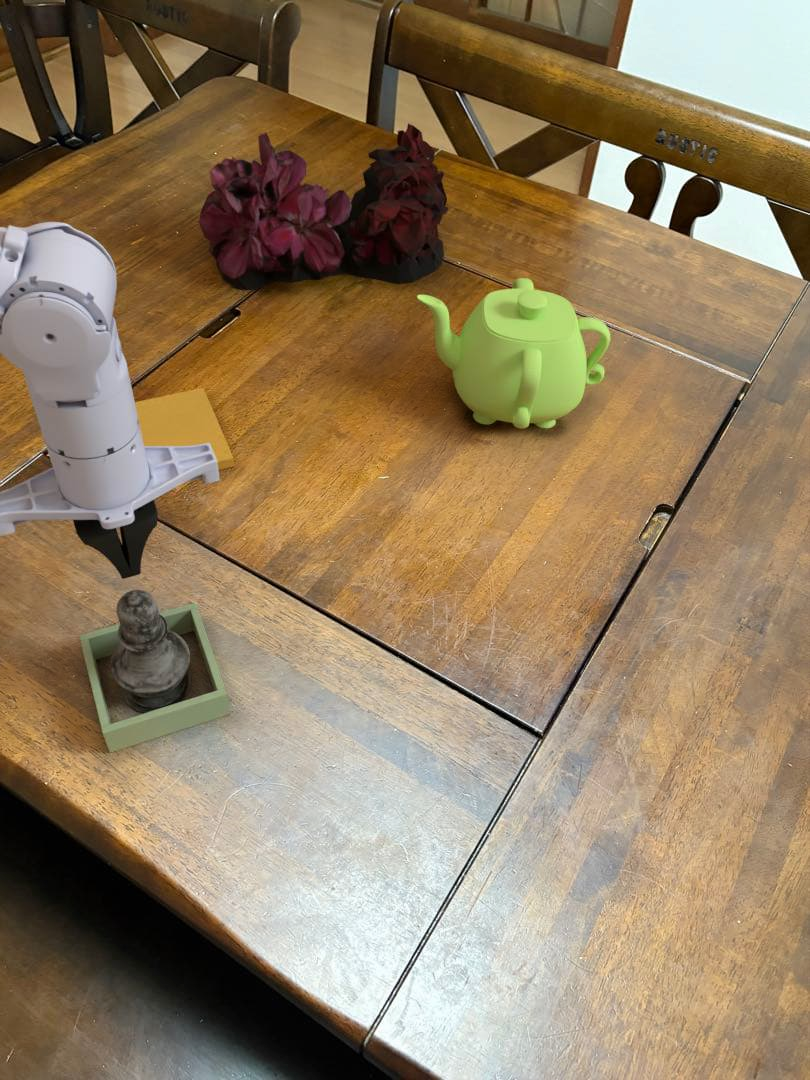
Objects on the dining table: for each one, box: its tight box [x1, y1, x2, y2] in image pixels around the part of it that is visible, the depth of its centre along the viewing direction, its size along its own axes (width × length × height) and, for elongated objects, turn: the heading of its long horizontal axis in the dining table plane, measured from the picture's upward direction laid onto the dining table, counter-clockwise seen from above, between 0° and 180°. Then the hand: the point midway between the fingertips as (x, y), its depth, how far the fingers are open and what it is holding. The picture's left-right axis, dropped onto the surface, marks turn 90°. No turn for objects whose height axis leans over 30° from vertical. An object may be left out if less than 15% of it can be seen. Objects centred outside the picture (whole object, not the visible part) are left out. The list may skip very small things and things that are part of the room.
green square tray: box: [78, 602, 231, 754], centre depth 71 cm, size 9×9×3 cm
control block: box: [135, 387, 235, 471], centre depth 88 cm, size 14×12×3 cm
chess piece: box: [110, 589, 192, 714], centre depth 68 cm, size 6×6×12 cm
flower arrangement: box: [198, 123, 450, 291], centre depth 108 cm, size 31×20×15 cm, turn 114°
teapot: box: [416, 277, 611, 430], centre depth 92 cm, size 16×14×13 cm
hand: (128, 566), depth 67 cm, fingers closed
